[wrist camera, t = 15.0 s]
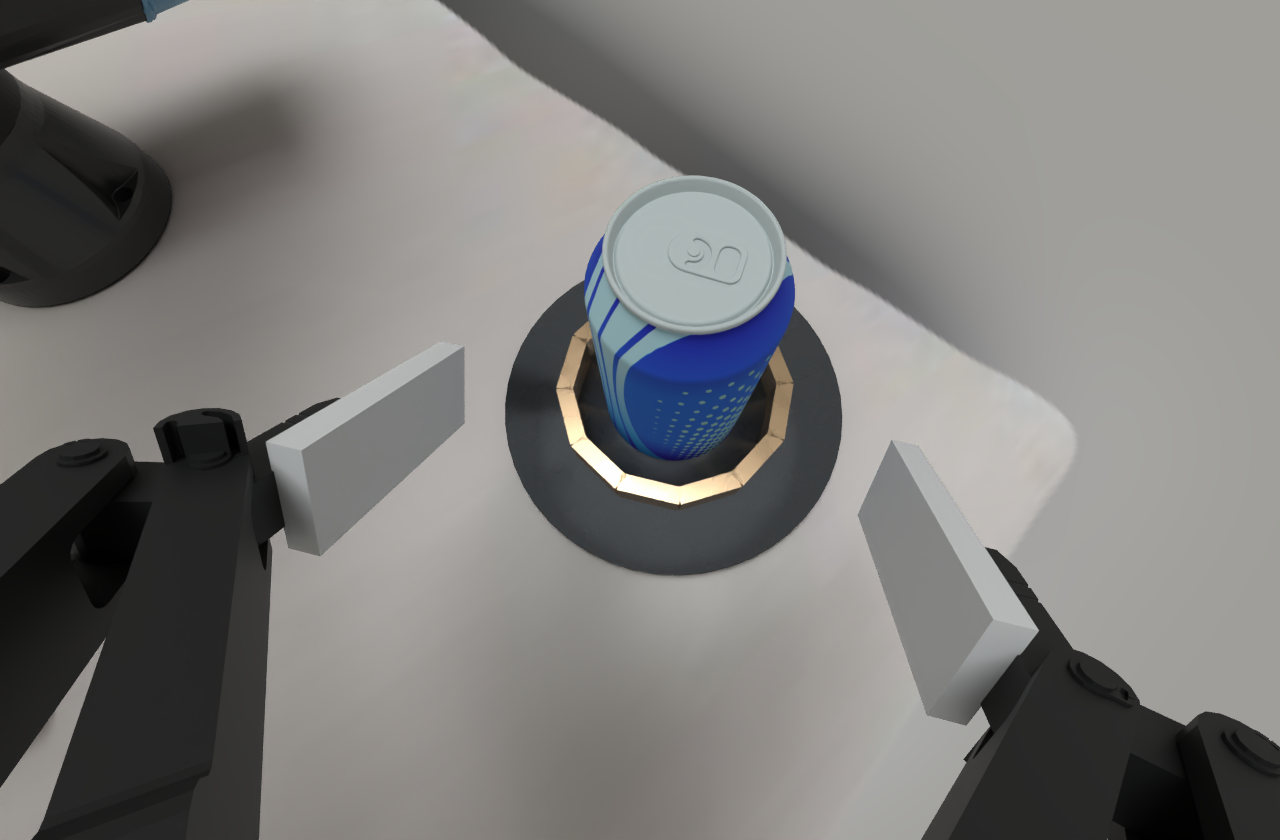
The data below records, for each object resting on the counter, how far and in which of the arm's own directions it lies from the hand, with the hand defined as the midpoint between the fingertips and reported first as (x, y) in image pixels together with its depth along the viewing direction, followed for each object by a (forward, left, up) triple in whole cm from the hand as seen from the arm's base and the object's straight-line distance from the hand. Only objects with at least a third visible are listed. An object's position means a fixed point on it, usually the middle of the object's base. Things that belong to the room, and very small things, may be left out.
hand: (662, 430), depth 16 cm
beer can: (-4, +6, -16) cm, 18 cm away
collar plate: (-4, +6, -17) cm, 19 cm away
